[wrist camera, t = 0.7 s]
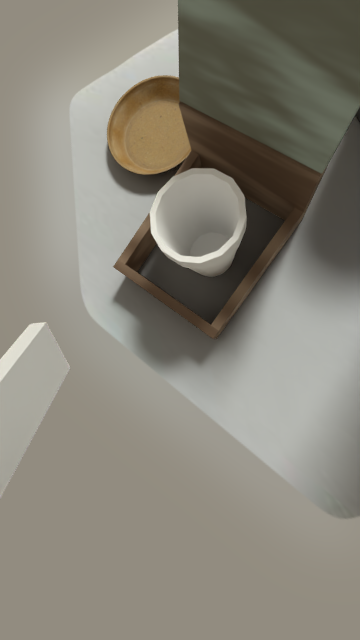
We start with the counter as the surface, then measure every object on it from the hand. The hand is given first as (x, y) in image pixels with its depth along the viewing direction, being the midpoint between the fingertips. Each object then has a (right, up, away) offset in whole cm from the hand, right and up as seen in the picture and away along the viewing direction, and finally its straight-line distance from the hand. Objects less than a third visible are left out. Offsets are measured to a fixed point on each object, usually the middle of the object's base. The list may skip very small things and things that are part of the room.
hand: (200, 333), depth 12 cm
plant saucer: (-4, +28, +32) cm, 43 cm away
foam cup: (+4, +10, +28) cm, 30 cm away
